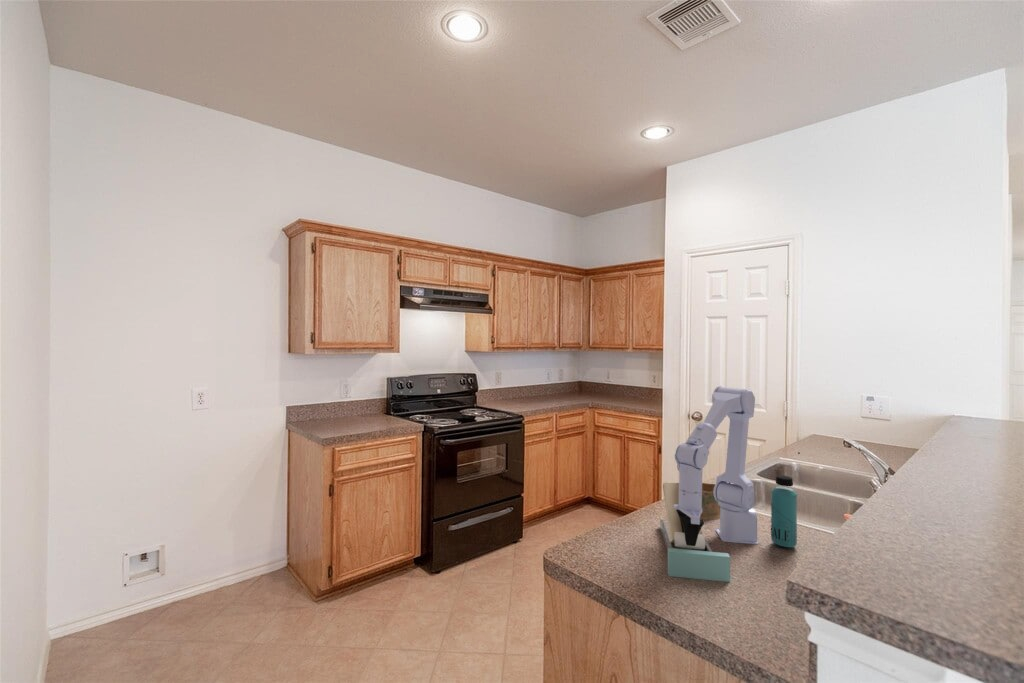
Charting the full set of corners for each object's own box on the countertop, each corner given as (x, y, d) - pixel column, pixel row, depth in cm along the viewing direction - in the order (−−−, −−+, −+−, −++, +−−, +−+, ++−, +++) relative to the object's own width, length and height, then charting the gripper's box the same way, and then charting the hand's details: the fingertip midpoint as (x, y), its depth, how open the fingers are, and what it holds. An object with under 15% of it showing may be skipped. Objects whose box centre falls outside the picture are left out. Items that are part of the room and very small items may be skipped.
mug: (747, 525, 143) (747, 486, 143) (687, 518, 148) (687, 481, 148) (740, 511, 154) (740, 476, 154) (684, 506, 159) (685, 471, 159)
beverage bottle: (794, 544, 129) (794, 474, 129) (800, 554, 123) (801, 481, 123) (768, 541, 131) (768, 472, 131) (773, 551, 125) (773, 478, 125)
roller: (701, 545, 121) (702, 532, 121) (704, 551, 117) (705, 537, 117) (674, 543, 122) (674, 529, 122) (676, 548, 118) (676, 535, 118)
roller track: (696, 531, 138) (696, 517, 138) (719, 576, 111) (719, 559, 111) (659, 528, 140) (660, 514, 140) (674, 571, 113) (674, 555, 113)
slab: (690, 486, 133) (692, 483, 131) (701, 543, 123) (703, 540, 121) (662, 486, 134) (663, 482, 132) (671, 542, 124) (672, 539, 122)
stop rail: (727, 577, 110) (727, 553, 110) (730, 582, 108) (730, 557, 108) (667, 571, 113) (667, 547, 113) (668, 576, 111) (669, 551, 111)
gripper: (670, 481, 128) (669, 529, 127) (679, 497, 113) (678, 552, 113) (696, 483, 126) (695, 532, 126) (709, 499, 112) (708, 555, 112)
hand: (689, 541), depth 120 cm, fingers closed on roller, 3 cm apart
